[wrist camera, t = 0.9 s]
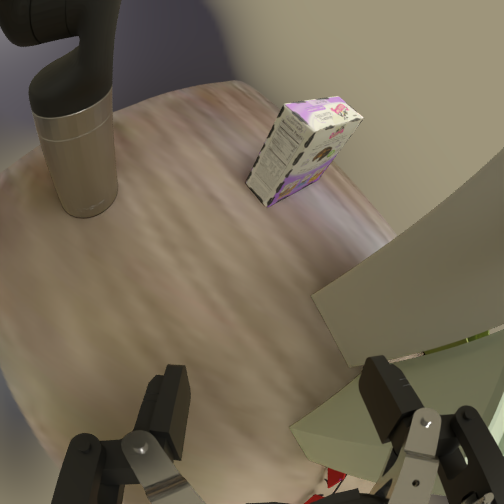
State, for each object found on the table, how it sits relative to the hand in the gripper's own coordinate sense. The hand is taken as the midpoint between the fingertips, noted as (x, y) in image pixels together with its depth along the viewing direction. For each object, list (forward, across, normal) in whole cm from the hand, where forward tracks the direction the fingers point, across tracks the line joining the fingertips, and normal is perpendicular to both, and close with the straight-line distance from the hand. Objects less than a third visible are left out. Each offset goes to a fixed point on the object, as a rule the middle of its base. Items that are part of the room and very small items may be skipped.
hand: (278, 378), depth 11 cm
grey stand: (+25, -16, +13) cm, 32 cm away
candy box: (+39, -6, -5) cm, 40 cm away
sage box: (+13, -12, +22) cm, 28 cm away
